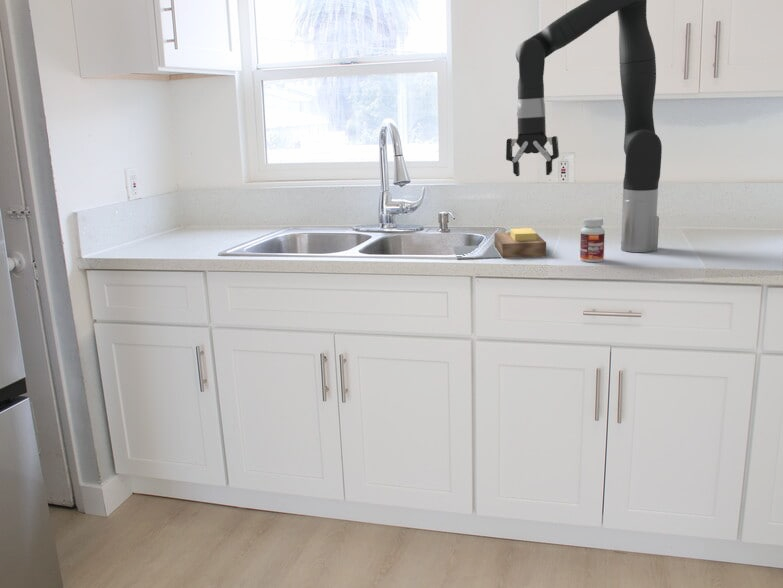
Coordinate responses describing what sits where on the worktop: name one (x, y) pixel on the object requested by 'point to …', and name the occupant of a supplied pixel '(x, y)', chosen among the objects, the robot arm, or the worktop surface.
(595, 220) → the pill bottle
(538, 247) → the brown wooden block
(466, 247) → the mat
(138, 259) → the worktop surface
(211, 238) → the worktop surface
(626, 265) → the worktop surface
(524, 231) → the yellow rectangular block
